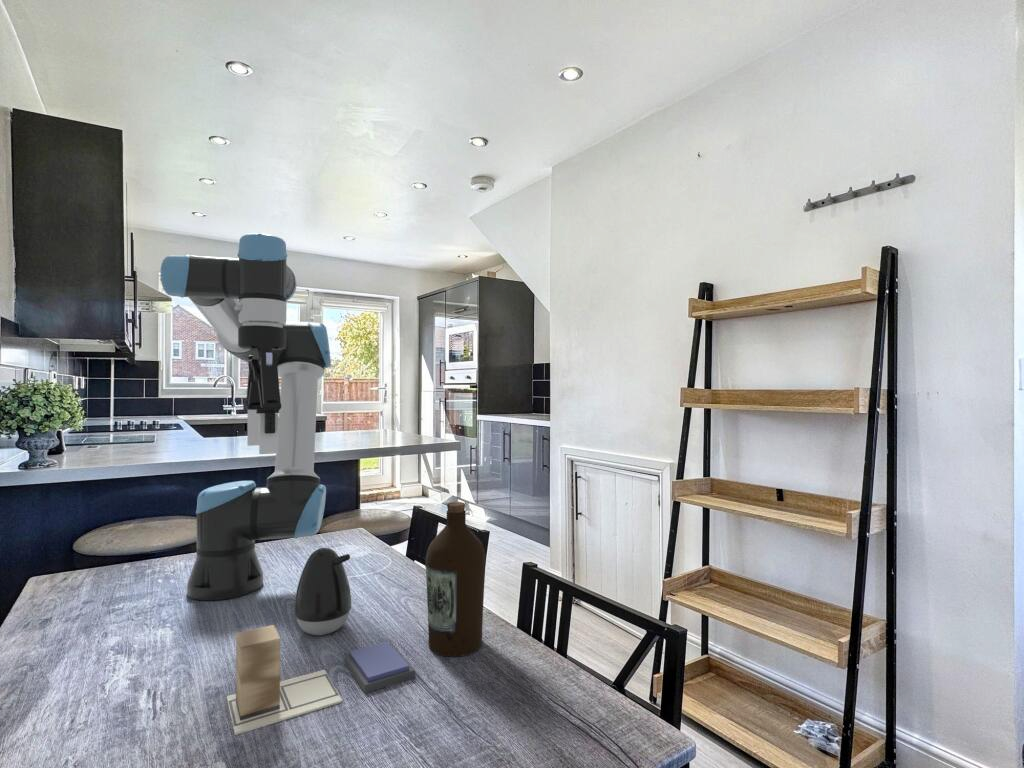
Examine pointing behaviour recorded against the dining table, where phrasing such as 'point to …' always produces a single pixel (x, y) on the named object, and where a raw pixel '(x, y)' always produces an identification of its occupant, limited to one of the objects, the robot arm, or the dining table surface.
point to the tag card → (290, 701)
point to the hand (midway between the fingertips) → (261, 449)
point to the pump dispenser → (323, 593)
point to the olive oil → (455, 587)
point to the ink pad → (378, 666)
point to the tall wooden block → (257, 671)
